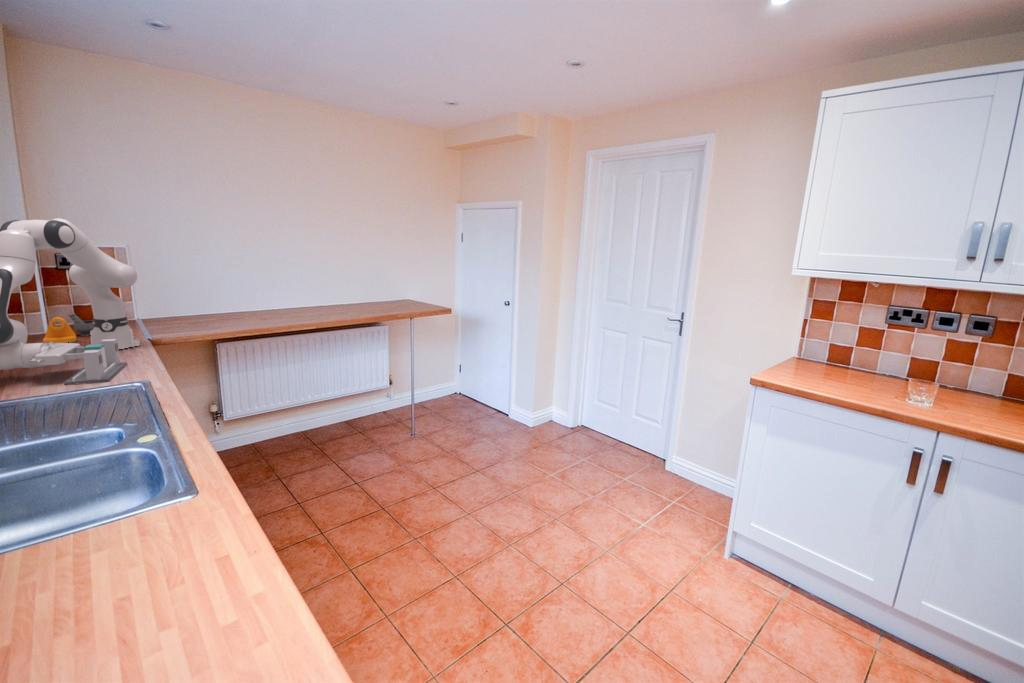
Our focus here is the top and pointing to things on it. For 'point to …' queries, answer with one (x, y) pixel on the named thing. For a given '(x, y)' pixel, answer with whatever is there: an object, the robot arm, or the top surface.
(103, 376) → the base plate with posts
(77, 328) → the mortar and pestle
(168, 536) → the top surface
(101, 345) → the block
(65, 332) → the bracket
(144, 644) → the top surface
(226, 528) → the top surface
